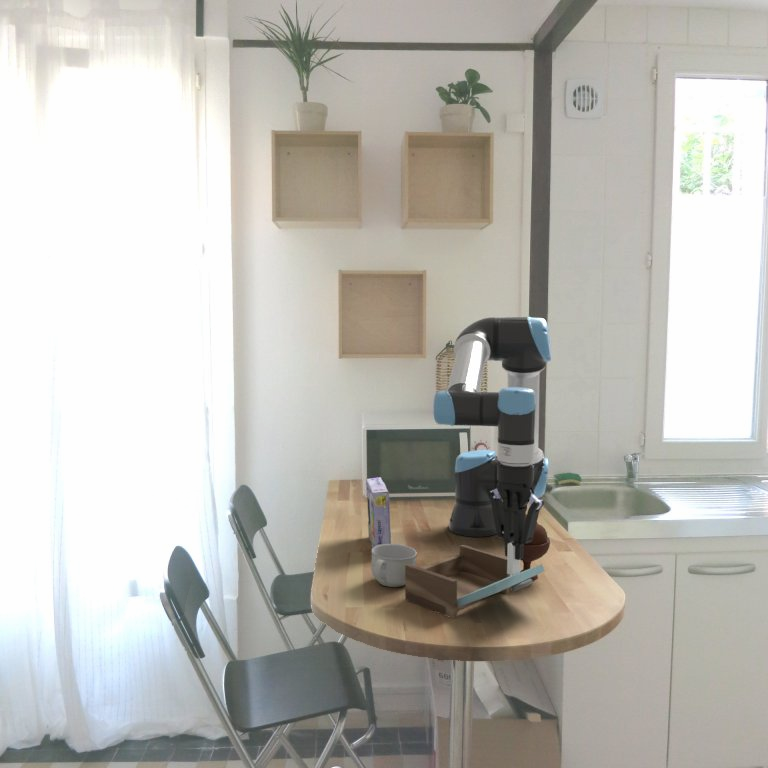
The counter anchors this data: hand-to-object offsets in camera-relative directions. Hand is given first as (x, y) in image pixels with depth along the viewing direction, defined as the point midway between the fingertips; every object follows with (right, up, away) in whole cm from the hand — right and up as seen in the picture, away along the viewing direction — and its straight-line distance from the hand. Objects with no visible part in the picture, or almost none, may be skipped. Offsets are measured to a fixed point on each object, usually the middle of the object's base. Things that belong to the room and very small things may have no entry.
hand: (513, 572), depth 151 cm
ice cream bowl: (+7, -7, +24) cm, 26 cm away
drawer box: (-11, -8, +13) cm, 19 cm away
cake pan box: (-29, -5, +47) cm, 55 cm away
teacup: (-26, -8, +19) cm, 33 cm away
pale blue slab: (-6, -7, +7) cm, 11 cm away
